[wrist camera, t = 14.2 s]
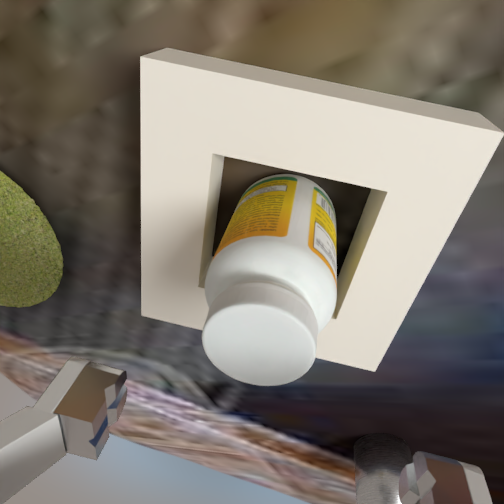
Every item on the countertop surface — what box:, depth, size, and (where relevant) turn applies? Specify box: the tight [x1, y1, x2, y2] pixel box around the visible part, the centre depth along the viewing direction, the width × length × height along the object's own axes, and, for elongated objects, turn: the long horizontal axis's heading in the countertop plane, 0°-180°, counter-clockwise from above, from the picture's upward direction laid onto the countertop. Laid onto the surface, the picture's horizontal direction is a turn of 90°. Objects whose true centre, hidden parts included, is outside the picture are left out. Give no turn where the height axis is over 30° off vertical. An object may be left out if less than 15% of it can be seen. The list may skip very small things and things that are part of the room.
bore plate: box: [140, 48, 504, 372], centre depth 20 cm, size 14×14×3 cm
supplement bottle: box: [202, 174, 337, 386], centre depth 17 cm, size 5×5×10 cm
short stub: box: [354, 433, 413, 504], centre depth 29 cm, size 4×4×5 cm
